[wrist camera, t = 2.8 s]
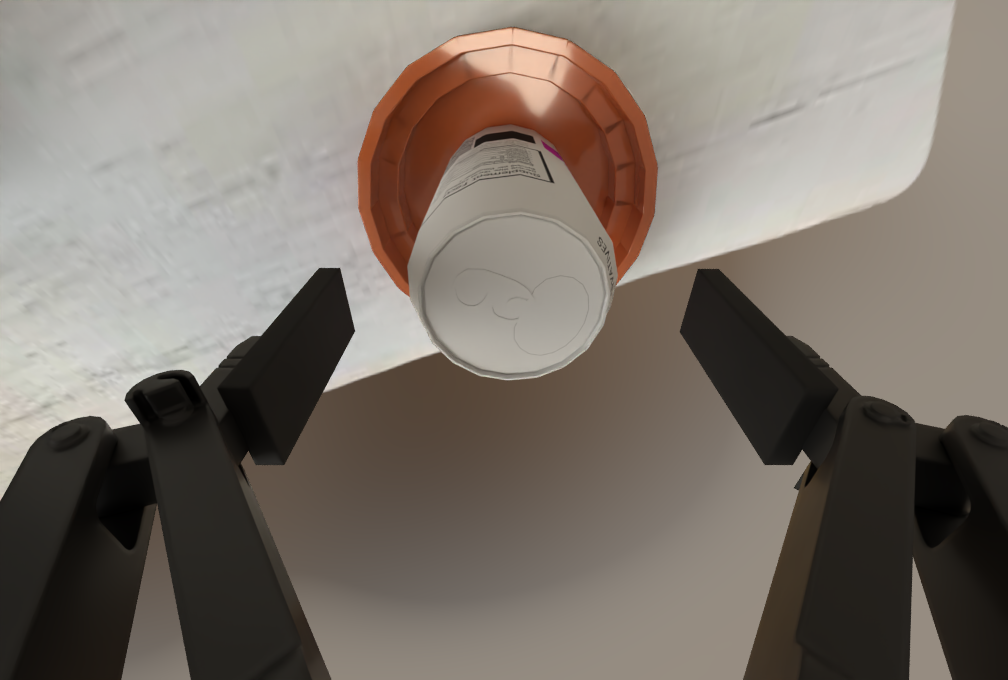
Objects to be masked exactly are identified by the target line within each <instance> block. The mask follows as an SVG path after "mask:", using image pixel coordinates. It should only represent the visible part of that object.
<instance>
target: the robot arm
mask: <svg viewBox="0 0 1008 680" xmlns="http://www.w3.org/2000/svg"><path fill="white" fill-rule="evenodd" d="M354 332H355V329H354V325H353V320H352V316H351V312H350V308H349V304H348V299H347V295H346V291H345V287H344V282H343V278H342V274H341V270H340V268H319V269H318V270H317V271H316V272H315V273H314V275H313V276H312V277H311V278H310V279H309V281H308V282H307V283H306V284H305V285H304V286H303V288H302V289H301V290H300V291H299V292H298V293H297V295H296V296H295V297H294V298H293V299H292V300H291V302H290V303H289V304H288V305H287V306H286V307H285V309H284V310H283V311H282V312H281V313H280V315H279V316H278V317H277V318H276V319H275V320H274V322H273V323H272V324H271V325H270V326H269V327H268V329H267V330H266V331H265V332H264V333H263V334H262V336H252V337H250V338H248V339H247V340H245V341H244V342H242V343H240V344H239V345H237V346H236V347H235V348H234V349H233V350H232V351H231V353H230V354H229V355H228V356H227V359H224V360H223V361H222V362H221V364H220V365H219V368H216V369H215V370H214V371H213V372H212V373H211V375H210V376H209V377H208V378H207V379H206V380H205V381H204V382H203V383H202V384H201V386H199V384H198V382H197V381H196V379H195V377H194V375H192V374H191V373H190V372H189V371H184V370H172V371H166V372H162V373H158V374H155V375H153V376H151V377H148V378H146V379H144V380H142V381H141V382H139V383H138V384H136V385H135V386H133V387H132V388H131V389H130V390H129V392H128V393H127V394H126V397H125V402H126V403H127V405H128V406H129V408H130V409H131V411H132V412H133V414H134V415H135V417H136V418H137V419H138V421H139V422H140V424H137V425H132V426H127V427H122V428H117V429H113V430H112V429H111V428H110V427H109V425H108V424H107V423H106V421H105V420H103V419H102V418H101V417H94V416H88V417H82V418H77V419H74V420H71V421H67V422H64V423H62V424H59V425H58V426H55V427H53V428H52V429H50V430H49V431H47V432H46V433H45V434H43V435H42V436H40V437H39V438H38V439H37V440H36V441H35V442H34V443H33V445H32V446H31V447H30V449H29V450H28V452H27V454H26V456H25V458H24V459H23V461H22V463H21V465H20V467H19V468H18V470H17V472H16V474H15V476H14V477H13V479H12V481H11V483H10V485H9V487H8V488H7V490H6V492H5V494H4V496H3V497H2V499H1V501H0V680H121V678H122V673H123V668H124V663H125V658H126V653H127V648H128V643H129V638H130V633H131V628H132V624H133V618H134V614H135V609H136V604H137V599H138V594H139V589H140V584H141V579H142V574H143V570H144V564H145V559H146V555H147V550H148V545H149V540H150V535H151V530H152V525H153V520H154V515H155V511H156V506H157V504H158V510H159V515H160V520H161V525H162V531H163V536H164V541H165V546H166V552H167V557H168V562H169V567H170V572H171V578H172V583H173V588H174V593H175V599H176V604H177V609H178V614H179V620H180V625H181V630H182V635H183V640H184V646H185V651H186V656H187V661H188V666H189V672H190V677H191V680H331V677H330V675H329V672H328V670H327V668H326V665H325V663H324V660H323V658H322V656H321V653H320V651H319V648H318V646H317V644H316V641H315V639H314V636H313V634H312V632H311V629H310V627H309V624H308V622H307V619H306V617H305V615H304V612H303V610H302V607H301V605H300V602H299V600H298V598H297V595H296V593H295V591H294V588H293V586H292V583H291V581H290V578H289V576H288V574H287V571H286V569H285V567H284V564H283V561H282V559H281V557H280V554H279V552H278V549H277V547H276V545H275V542H274V540H273V537H272V535H271V533H270V530H269V528H268V525H267V523H266V521H265V518H264V516H263V513H262V511H261V509H260V506H259V504H258V501H257V499H256V496H255V494H254V492H253V489H252V487H251V484H250V482H249V480H248V477H247V475H246V473H245V470H244V468H243V466H242V464H241V461H242V460H243V458H244V457H245V455H246V454H247V452H248V451H249V453H250V455H251V456H252V458H253V460H254V462H255V464H256V465H284V464H285V462H286V460H287V459H288V457H289V455H290V453H291V451H292V449H293V447H294V445H295V444H296V442H297V440H298V438H299V436H300V434H301V432H302V430H303V428H304V426H305V425H306V423H307V421H308V419H309V417H310V415H311V413H312V411H313V410H314V408H315V406H316V404H317V402H318V400H319V398H320V396H321V394H322V393H323V391H324V389H325V387H326V385H327V383H328V381H329V379H330V377H331V376H332V374H333V372H334V370H335V368H336V366H337V364H338V362H339V360H340V359H341V357H342V355H343V353H344V351H345V349H346V347H347V345H348V343H349V342H350V340H351V338H352V336H353V334H354ZM680 333H681V334H682V336H683V338H684V339H685V341H686V342H687V344H688V345H689V347H690V349H691V350H692V352H693V353H694V355H695V356H696V358H697V359H698V361H699V363H700V364H701V366H702V367H703V369H704V370H705V372H706V374H707V375H708V377H709V378H710V380H711V381H712V383H713V385H714V386H715V388H716V389H717V391H718V392H719V394H720V396H721V397H722V399H723V400H724V402H725V403H726V405H727V406H728V408H729V410H730V411H731V413H732V414H733V416H734V417H735V419H736V420H737V422H738V424H739V425H740V427H741V428H742V430H743V432H744V433H745V435H746V436H747V437H748V439H749V441H750V442H751V444H752V445H753V447H754V449H755V450H756V452H757V453H758V455H759V456H760V458H761V459H762V461H763V463H764V464H765V465H793V464H794V462H795V460H796V459H797V457H798V455H799V454H800V452H801V450H803V451H804V452H805V454H806V455H807V456H808V457H809V459H810V460H811V462H810V463H809V465H808V466H807V468H806V470H805V471H804V473H803V474H802V476H801V477H800V479H799V481H798V482H797V484H796V485H795V487H794V488H795V489H797V490H799V493H798V496H797V500H796V503H795V507H794V509H793V513H792V516H791V520H790V523H789V526H788V530H787V533H786V537H785V540H784V543H783V547H782V550H781V553H780V557H779V560H778V564H777V567H776V571H775V574H774V577H773V581H772V584H771V587H770V590H769V594H768V597H767V601H766V604H765V607H764V611H763V614H762V617H761V621H760V624H759V628H758V631H757V635H756V638H755V641H754V645H753V648H752V651H751V655H750V658H749V662H748V665H747V668H746V672H745V675H744V678H743V680H909V662H910V660H909V659H910V628H911V626H910V625H911V596H912V595H911V594H912V563H913V558H914V561H915V564H916V567H917V570H918V573H919V576H920V579H921V583H922V586H923V589H924V592H925V595H926V598H927V601H928V604H929V608H930V611H931V614H932V617H933V620H934V623H935V627H936V630H937V633H938V636H939V639H940V642H941V645H942V649H943V652H944V655H945V658H946V661H947V664H948V667H949V671H950V673H951V677H952V680H1008V428H1007V427H1005V426H1004V425H1000V424H999V423H997V422H994V421H990V420H987V419H983V418H980V417H975V416H969V415H964V416H957V417H956V418H955V419H954V420H953V421H952V422H951V423H950V424H949V425H948V426H947V428H946V429H942V428H938V427H932V426H928V425H923V424H918V423H915V421H914V419H913V418H912V417H911V416H910V415H909V414H908V413H907V412H905V411H904V410H902V409H901V408H899V407H898V406H896V405H894V404H892V403H890V402H887V401H885V400H882V399H879V398H875V397H871V396H861V395H860V394H859V393H858V392H857V391H856V390H855V389H854V388H853V387H852V386H851V385H850V384H848V383H847V382H846V381H845V380H844V379H843V378H842V377H841V376H840V375H839V374H838V373H837V372H836V371H835V370H834V369H833V368H830V367H829V364H828V363H826V362H825V361H824V360H823V359H820V356H819V355H818V354H817V353H816V352H815V351H814V350H813V349H812V348H811V347H810V346H809V345H807V344H805V343H803V342H802V341H800V340H798V339H796V338H795V337H793V336H786V335H784V333H783V332H781V331H780V330H779V329H778V328H777V327H776V326H775V325H774V324H773V323H772V322H771V321H770V320H769V319H768V318H767V317H766V316H765V315H764V314H763V313H762V312H761V311H760V310H759V309H758V308H757V307H756V306H755V305H754V304H753V303H752V302H751V301H750V300H749V299H748V298H747V297H746V296H745V295H744V294H743V293H742V292H741V291H740V290H739V289H738V288H737V287H736V286H735V285H734V284H733V283H732V282H731V281H730V280H729V279H728V278H727V277H726V276H725V275H724V274H723V273H722V272H721V271H720V270H719V269H698V271H697V274H696V277H695V281H694V284H693V288H692V292H691V295H690V298H689V301H688V305H687V308H686V312H685V315H684V319H683V322H682V326H681V329H680Z"/></svg>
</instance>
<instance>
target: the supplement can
mask: <svg viewBox="0 0 1008 680" xmlns="http://www.w3.org/2000/svg"><path fill="white" fill-rule="evenodd" d="M407 267H408V280H409V292H410V300H411V302H412V304H413V306H414V308H415V310H416V312H417V314H418V316H419V318H420V320H421V322H422V324H423V326H424V328H425V329H426V331H427V333H428V335H429V338H430V340H431V342H432V343H433V344H434V345H435V346H436V347H437V348H438V349H439V350H440V351H441V352H442V353H443V354H444V355H445V356H446V357H447V358H448V359H450V361H451V362H453V363H455V364H457V365H458V366H460V367H462V368H465V369H467V370H469V371H471V372H473V373H475V374H477V375H479V376H485V377H491V378H496V379H503V380H518V379H528V378H537V377H540V376H542V375H545V374H548V373H550V372H553V371H555V370H558V369H561V368H563V367H565V366H566V365H568V364H569V363H570V362H572V361H573V360H574V359H575V358H577V357H578V356H579V355H581V354H582V353H583V352H584V351H586V350H587V349H588V348H589V346H590V345H591V343H592V342H593V340H594V339H595V337H596V336H597V334H598V333H599V331H600V330H601V328H602V327H603V325H604V322H605V318H606V314H607V312H608V311H609V309H610V307H611V303H612V299H613V295H614V290H615V286H616V282H617V278H618V273H617V267H616V261H615V254H614V248H613V242H612V240H611V239H610V237H609V235H608V234H607V232H606V230H605V229H604V227H603V225H602V224H601V222H600V221H599V219H598V217H597V216H596V214H595V212H594V211H593V209H592V207H591V206H590V204H589V202H588V201H587V199H586V197H585V196H584V194H583V192H582V191H581V189H580V187H579V186H578V184H577V182H576V181H575V179H574V177H573V176H572V174H571V172H570V171H569V169H568V167H567V166H566V164H565V162H564V161H563V159H562V158H561V156H560V154H559V153H558V151H557V150H556V148H555V146H554V145H553V144H552V143H550V142H549V141H548V140H546V139H545V138H544V137H542V136H541V135H540V134H538V133H537V132H536V131H534V130H531V129H527V128H523V127H519V126H515V125H511V124H510V125H502V126H495V127H487V128H485V129H483V130H482V131H480V132H478V133H476V134H475V135H473V136H471V137H469V138H468V139H466V140H465V141H464V142H463V144H462V145H461V146H460V147H459V149H458V150H457V151H456V152H455V153H454V155H453V156H452V157H451V159H450V161H449V163H448V165H447V168H446V170H445V172H444V175H443V177H442V179H441V181H440V184H439V186H438V188H437V191H436V193H435V195H434V197H433V200H432V202H431V204H430V207H429V209H428V211H427V214H426V216H425V218H424V220H423V223H422V225H421V227H420V230H419V232H418V235H417V238H416V241H415V244H414V247H413V250H412V253H411V256H410V259H409V263H408V266H407Z"/></svg>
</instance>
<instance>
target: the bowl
mask: <svg viewBox="0 0 1008 680" xmlns="http://www.w3.org/2000/svg"><path fill="white" fill-rule="evenodd" d="M510 124H511V125H515V126H519V127H523V128H527V129H531V130H534V131H536V132H537V133H538V134H540V135H541V136H542V137H544V138H545V139H546V140H548V141H549V142H550V143H552V144H553V145H554V146H555V148H556V150H557V151H558V153H559V154H560V156H561V158H562V159H563V161H564V162H565V164H566V166H567V167H568V169H569V171H570V172H571V174H572V176H573V177H574V179H575V181H576V182H577V184H578V186H579V187H580V189H581V191H582V192H583V194H584V196H585V197H586V199H587V201H588V202H589V204H590V206H591V207H592V209H593V211H594V212H595V214H596V216H597V217H598V219H599V221H600V222H601V224H602V225H603V227H604V229H605V230H606V232H607V234H608V235H609V237H610V239H611V240H612V242H613V248H614V254H615V261H616V267H617V273H618V278H617V282H616V285H617V283H618V282H619V281H620V280H621V278H622V277H623V276H624V274H625V273H626V272H627V270H628V269H629V268H630V266H631V265H632V264H633V263H634V261H635V260H636V259H637V257H638V256H639V253H640V251H641V248H642V245H643V243H644V240H645V238H646V235H647V233H648V230H649V227H650V225H651V222H652V220H653V217H654V213H655V200H656V186H657V172H658V167H657V166H658V165H657V161H656V157H655V153H654V149H653V145H652V141H651V137H650V133H649V129H648V125H647V121H646V118H645V115H644V114H643V112H642V111H641V109H640V108H639V106H638V105H637V103H636V102H635V100H634V99H633V97H632V96H631V95H630V93H629V92H628V90H627V89H626V87H625V86H624V84H623V83H622V81H621V80H620V78H619V77H618V75H617V74H616V73H615V72H614V71H613V70H612V69H611V68H609V67H608V66H606V65H605V64H603V63H602V62H601V61H599V60H598V59H596V58H595V57H593V56H592V55H590V54H589V53H588V52H586V51H585V50H583V49H582V48H580V47H579V46H578V45H576V44H575V43H573V42H572V41H570V40H568V39H565V38H561V37H556V36H552V35H547V34H543V33H539V32H534V31H530V30H525V29H521V28H517V27H507V28H502V29H496V30H490V31H484V32H478V33H472V34H466V35H460V36H456V37H454V38H452V39H450V40H449V41H447V42H445V43H444V44H442V45H441V46H439V47H437V48H436V49H434V50H432V51H431V52H429V53H428V54H426V55H424V56H423V57H421V58H419V59H418V60H416V61H415V62H413V63H411V64H410V65H408V66H407V67H406V68H405V69H404V71H403V72H402V73H401V75H400V76H399V77H398V79H397V80H396V81H395V83H394V84H393V85H392V86H391V88H390V89H389V90H388V92H387V93H386V94H385V96H384V97H383V98H382V100H381V101H380V102H379V103H378V105H377V106H376V107H375V109H374V111H373V113H372V116H371V119H370V122H369V126H368V129H367V132H366V135H365V138H364V141H363V145H362V148H361V151H360V154H359V157H358V209H359V212H360V215H361V218H362V221H363V224H364V227H365V230H366V233H367V236H368V239H369V242H370V245H371V248H372V251H373V252H374V254H375V256H376V257H377V259H378V260H379V261H380V263H381V264H382V266H383V267H384V269H385V270H386V271H387V273H388V274H389V276H390V277H391V279H392V280H393V281H394V283H395V284H396V286H397V287H399V289H400V290H401V291H403V292H404V293H405V294H406V295H408V296H409V297H410V292H409V280H408V267H407V266H408V263H409V259H410V256H411V253H412V250H413V247H414V244H415V241H416V238H417V235H418V232H419V230H420V227H421V225H422V223H423V220H424V218H425V216H426V214H427V211H428V209H429V207H430V204H431V202H432V200H433V197H434V195H435V193H436V191H437V188H438V186H439V184H440V181H441V179H442V177H443V175H444V172H445V170H446V168H447V165H448V163H449V161H450V159H451V157H452V156H453V155H454V153H455V152H456V151H457V150H458V149H459V147H460V146H461V145H462V144H463V142H464V141H465V140H466V139H468V138H469V137H471V136H473V135H475V134H476V133H478V132H480V131H482V130H483V129H485V128H487V127H495V126H502V125H510Z"/></svg>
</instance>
